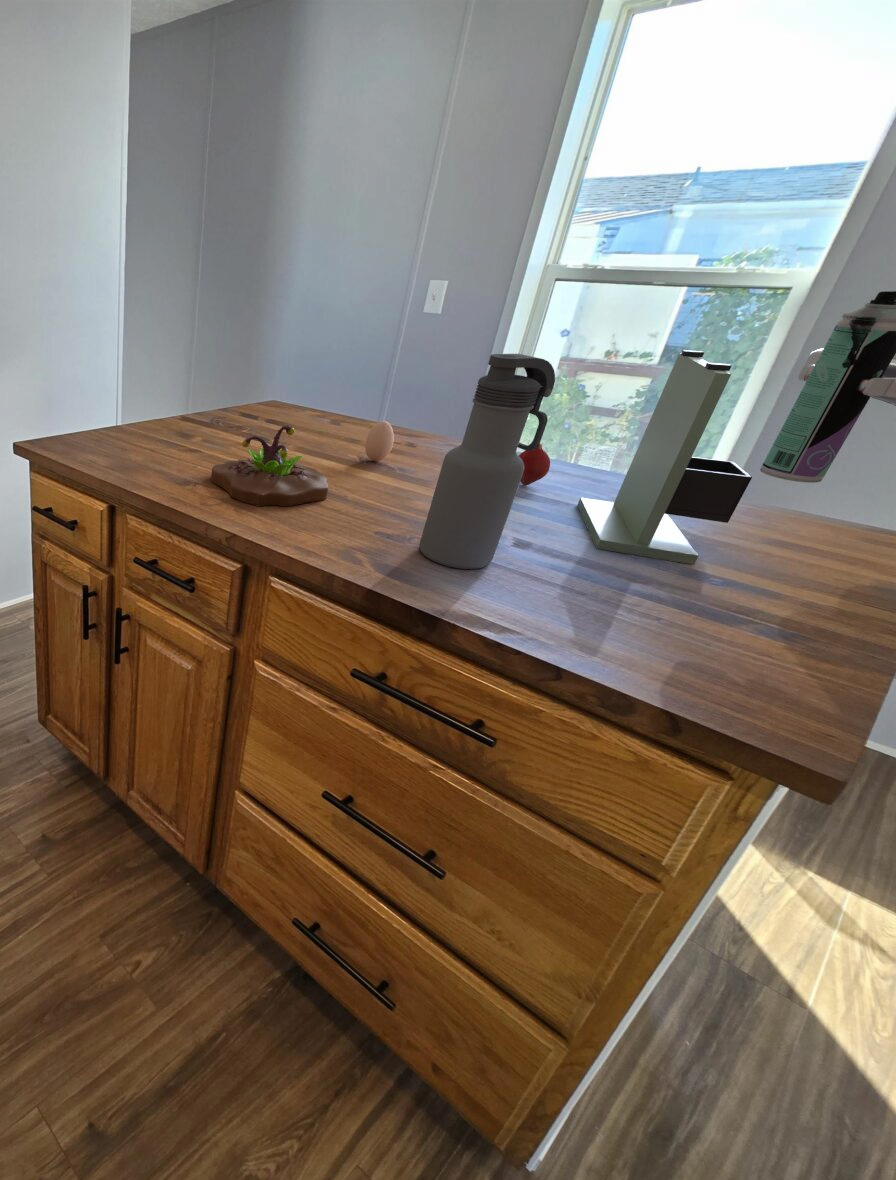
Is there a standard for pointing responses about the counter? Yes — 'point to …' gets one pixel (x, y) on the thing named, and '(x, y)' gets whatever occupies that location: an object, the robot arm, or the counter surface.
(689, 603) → the counter surface
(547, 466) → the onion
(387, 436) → the egg
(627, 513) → the white stand
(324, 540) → the counter surface
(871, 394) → the robot arm
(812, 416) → the spray can
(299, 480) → the plant
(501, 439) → the water bottle
